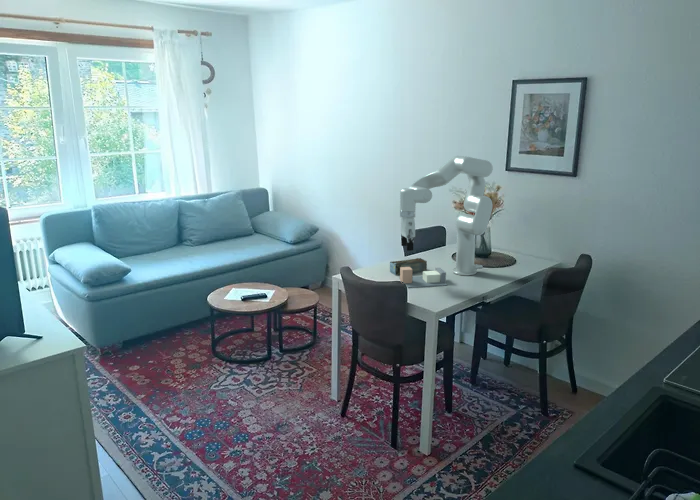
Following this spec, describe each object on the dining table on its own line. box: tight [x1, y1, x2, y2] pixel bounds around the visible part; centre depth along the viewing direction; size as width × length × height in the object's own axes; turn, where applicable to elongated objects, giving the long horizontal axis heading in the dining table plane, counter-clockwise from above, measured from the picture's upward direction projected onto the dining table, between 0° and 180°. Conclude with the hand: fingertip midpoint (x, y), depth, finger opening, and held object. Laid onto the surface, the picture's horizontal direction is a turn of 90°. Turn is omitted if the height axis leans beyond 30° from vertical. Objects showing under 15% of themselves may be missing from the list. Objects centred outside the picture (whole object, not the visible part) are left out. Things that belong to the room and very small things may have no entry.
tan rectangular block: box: [399, 267, 414, 284], centre depth 267 cm, size 5×5×7 cm
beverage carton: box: [389, 257, 428, 276], centre depth 287 cm, size 8×19×7 cm, turn 111°
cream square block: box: [422, 267, 447, 283], centre depth 270 cm, size 9×9×5 cm
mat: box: [404, 275, 448, 289], centre depth 270 cm, size 20×16×1 cm
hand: (407, 247), depth 264 cm, fingers open, 9 cm apart
